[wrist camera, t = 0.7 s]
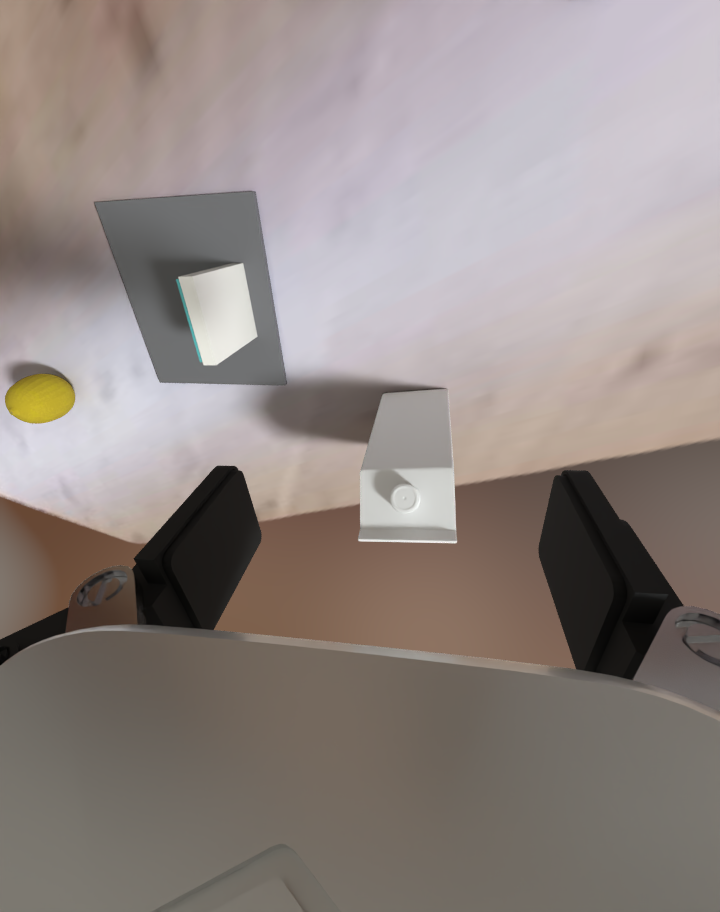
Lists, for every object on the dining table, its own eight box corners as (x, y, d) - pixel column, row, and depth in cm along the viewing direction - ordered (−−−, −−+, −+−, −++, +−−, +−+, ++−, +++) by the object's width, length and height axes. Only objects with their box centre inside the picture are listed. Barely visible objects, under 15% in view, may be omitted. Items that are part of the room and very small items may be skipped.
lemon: (62, 357, 46) (-1, 381, 39) (98, 393, 48) (44, 422, 41) (41, 377, 48) (-22, 403, 41) (76, 411, 50) (22, 441, 44)
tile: (227, 263, 36) (173, 276, 28) (243, 263, 35) (192, 276, 28) (243, 336, 39) (199, 365, 32) (257, 336, 39) (216, 365, 32)
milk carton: (449, 444, 43) (457, 575, 28) (389, 446, 45) (364, 572, 29) (448, 387, 39) (456, 502, 24) (382, 392, 41) (350, 503, 25)
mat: (99, 202, 35) (94, 202, 35) (255, 191, 32) (252, 191, 32) (162, 380, 45) (159, 382, 44) (286, 383, 42) (285, 385, 42)
